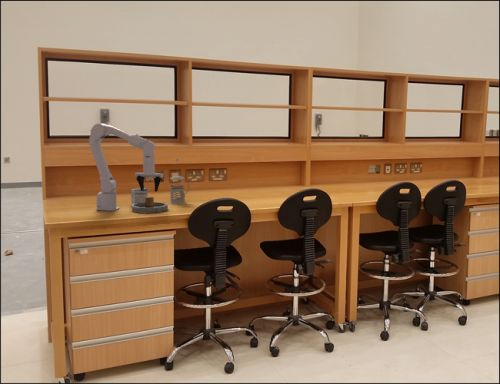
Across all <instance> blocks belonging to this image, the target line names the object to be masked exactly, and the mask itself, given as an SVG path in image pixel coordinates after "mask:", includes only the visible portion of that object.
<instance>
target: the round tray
mask: <svg viewBox="0 0 500 384" xmlns="http://www.w3.org/2000/svg"><path fill="white" fill-rule="evenodd" d="M168 206H169V205H168V203H166V202H161V201H154V207H150V208H145V202H140V203H135V204H131V211H132V212H134V213H140V214H154V213H155V214H156V213H162V212H166V211H167V210H168V209H169V207H168Z"/></svg>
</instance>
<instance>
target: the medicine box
mask: <svg viewBox="0 0 500 384" xmlns="http://www.w3.org/2000/svg"><path fill="white" fill-rule="evenodd" d="M130 195H131V196H130V198H131V199H130V200H131V201H130V202H131V205H132V204H135V203H140V202H145V197H148V188H145V187H144V191H141V189H140V187H139V188H131V189H130Z"/></svg>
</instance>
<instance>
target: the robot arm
mask: <svg viewBox="0 0 500 384" xmlns="http://www.w3.org/2000/svg"><path fill="white" fill-rule="evenodd" d="M107 135H108V136H109V135H113V136H116V137H117V138H120V139H122V140H125V141H127V142H128V145H130V146H132V147H134V148H137V149H138V150H142V154H143V156H142V163H143V164H142V170H143V171H142V172H135V173H134V177H135V179H136V181H137V183H138V185H139V188H140V189H141V191H144V188H145V178H153V182H154V192H158V191H159V186H160V183H161V181H162V179H163V178H164V173H160V172H159V173H158V172H155V171H156V170H155V165H156V164H155V162H156V161H155V159H156V158H155V149H156V146H155V145H156V144H155V143H154V142H153V141H152V140H148V138H143V137H141V136H139V134H138V133H136V134H135V133H133V134H129V133H127V132H126V131H123V130H122V129H118V128H117V127H115V126H112V125H109V124H106V123H104V122H103V123H95V124H94V125H93V126H92V127H91V129H90V135H89V139H88V145H89V147H90V151H91V153H92V156H93V158H94V162H95V165H96V168H97V171H98V173H99V181H100V189H101V191H99V192H98V193H97V195H96V209H95V210H96V211H109V212H113V211H116V210H119V209H120V208H121V207H119V206H118V205H117V204H118V203H117V186H118V183H117V180H115V178H114V177H113V175H112V173H111V171H110V169H109V166H108V163H107V159H106V157H105V154H104V151H103V148H102V145H101V143H102V141H103V139H104V138H105V137H106V136H107Z"/></svg>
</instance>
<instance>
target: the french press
mask: <svg viewBox="0 0 500 384" xmlns="http://www.w3.org/2000/svg"><path fill="white" fill-rule="evenodd" d="M178 161H179V158H175V162H178ZM169 180H171V181H176V184H172V185H171V186H170V201H169V202H168V204H170V205H183V204H185V205H186V203H187V201H186V198H185V197H186V196H185V195H186V194H188V192H189V191H190V187H191V186H190V183H189V182H188V181H186V180H185V177H183V176H181V175H178V170H176V175H173V176H172V177H170V178H169ZM178 181H183V184H185V183H187V185H188V189H187V191H186V192H185V188H184V186H185V185H183V184H178V183H179V182H178Z"/></svg>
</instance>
